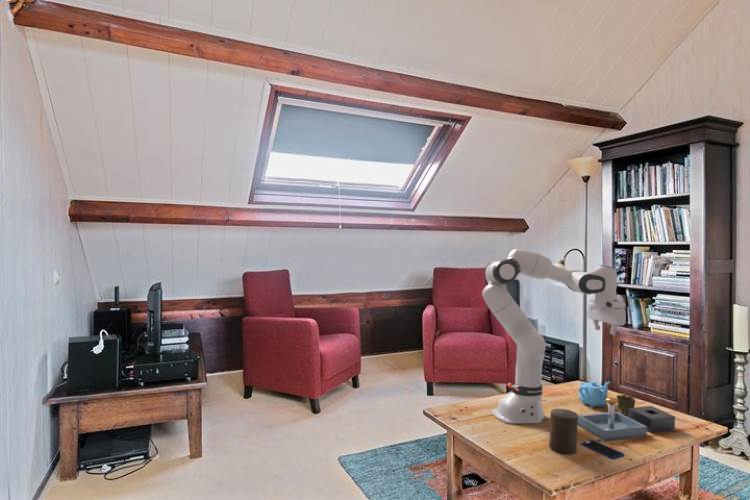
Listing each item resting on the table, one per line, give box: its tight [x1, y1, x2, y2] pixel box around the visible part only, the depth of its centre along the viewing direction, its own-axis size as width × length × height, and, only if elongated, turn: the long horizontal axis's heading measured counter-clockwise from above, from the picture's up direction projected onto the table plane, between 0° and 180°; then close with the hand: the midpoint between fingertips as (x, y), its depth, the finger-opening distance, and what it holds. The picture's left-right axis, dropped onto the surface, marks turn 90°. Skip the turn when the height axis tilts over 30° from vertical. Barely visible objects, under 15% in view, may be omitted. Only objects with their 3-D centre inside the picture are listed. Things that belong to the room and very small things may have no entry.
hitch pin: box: [606, 396, 617, 429], centre depth 193 cm, size 4×4×12 cm
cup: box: [616, 394, 636, 417], centre depth 210 cm, size 8×7×8 cm
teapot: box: [578, 381, 611, 409], centre depth 223 cm, size 13×14×11 cm
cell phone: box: [580, 439, 625, 460], centre depth 176 cm, size 7×14×1 cm, turn 28°
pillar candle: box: [548, 408, 579, 455], centre depth 176 cm, size 10×10×15 cm
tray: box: [578, 411, 648, 442], centre depth 193 cm, size 20×16×4 cm
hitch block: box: [627, 405, 676, 434], centre depth 198 cm, size 12×12×6 cm
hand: (604, 331), depth 211 cm, fingers open, 8 cm apart
